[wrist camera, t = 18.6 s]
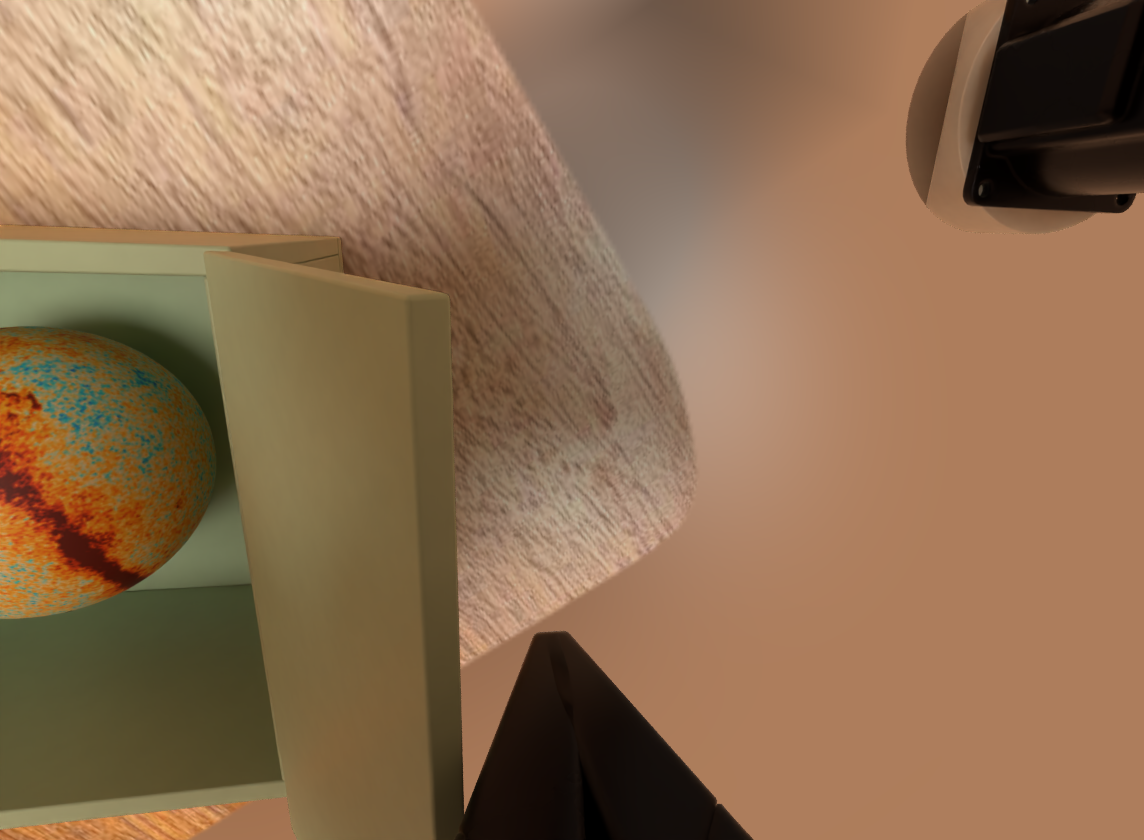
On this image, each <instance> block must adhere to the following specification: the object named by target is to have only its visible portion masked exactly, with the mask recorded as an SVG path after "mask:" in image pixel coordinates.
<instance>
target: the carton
mask: <svg viewBox="0 0 1144 840" xmlns="http://www.w3.org/2000/svg"><path fill="white" fill-rule="evenodd" d="M205 251H230V252H236V253H241V254H246V255H251V256H256V257H261V258H267V259H272V260H277V261H282V262H287V263H292V264H298V265H303V266H308V267H313V268H318V269H323V270H329V271H334V272H339V273H344V271H343V259H342V247H341V238H340V237H334V236H306V235H278V234H250V233H222V232H194V231H167V230H139V229H111V228H83V227H55V226H27V225H0V328H3V327H16V326H43V327H56V328H65V329H71V330H77V331H82V332H86V333H91V334H95V335H98V336H102V337H105V338H108V339H111V340H114V341H117V342H119V343H122V344H124V345H126V346H129V347H131V348H133V349H135V350H137V351H139V352H141V353H143V354H144V355H146V356H148V357H150V358H151V359H153V360H154V361H156V362H157V363H159V364H160V365H162V366H163V367H164V368H166V369H167V370H168V371H169V372H171V373H172V374H173V375H174V376H175V377H176V378H177V379H178V380H179V381H180V382H181V383H182V384H183V385H184V386H185V387H186V388H187V389H188V390H189V392H190V393H191V394H192V395H193V397H194V398H195V400H196V401H197V402H198V404H199V406H200V407H201V409H202V411H203V413H204V415H205V417H206V419H207V421H208V423H209V426H210V429H211V432H212V435H213V439H214V444H215V450H216V477H215V484H214V489H213V493H212V496H211V499H210V502H209V505H208V507H207V510H206V512H205V514H204V516H203V518H202V520H201V522H200V523H199V525H198V527H197V528H196V530H195V531H194V533H193V534H192V536H191V537H190V538H189V540H188V541H187V542H186V543H185V544H184V546H183V547H182V548H181V549H180V550H179V551H178V552H177V553H176V554H175V555H174V556H173V557H172V558H171V559H170V560H169V561H168V562H167V563H166V564H164V565H163V566H162V567H161V568H159V569H158V570H157V571H156V572H154V573H153V574H152V575H150V576H149V577H147V578H146V579H144V580H143V581H141V582H139V583H138V584H136V585H134V586H133V587H131V588H129V589H127V590H125V591H123V592H121V593H119V594H117V595H115V596H113V597H110V598H108V599H106V600H103V601H101V602H98V603H95V604H92V605H89V606H86V607H83V608H80V609H76V610H72V611H71V612H64V613H59V614H54V615H48V616H41V617H32V618H18V619H0V830H1V829H9V828H18V827H27V826H36V825H44V824H53V823H62V822H71V821H80V820H88V819H97V818H106V817H115V816H123V815H132V814H141V813H150V812H158V811H167V810H176V809H185V808H194V807H202V806H211V805H220V804H229V803H237V802H246V801H255V800H263V799H272V798H281V797H287V794H286V787H285V781H284V774H283V768H282V761H281V755H280V748H279V742H278V735H277V729H276V722H275V716H274V709H273V703H272V697H271V690H270V684H269V677H268V671H267V664H266V658H265V651H264V645H263V638H262V632H261V625H260V619H259V612H258V606H257V599H256V593H255V587H254V580H253V574H252V567H251V561H250V554H249V548H248V541H247V535H246V528H245V522H244V515H243V509H242V502H241V496H240V489H239V483H238V476H237V470H236V464H235V457H234V451H233V444H232V438H231V431H230V425H229V418H228V412H227V405H226V399H225V392H224V386H223V379H222V373H221V366H220V360H219V354H218V347H217V341H216V334H215V328H214V321H213V315H212V308H211V302H210V295H209V289H208V282H207V276H206V269H205V263H204V256H203V254H204V252H205Z"/></svg>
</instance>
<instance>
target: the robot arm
mask: <svg viewBox="0 0 1144 840" xmlns="http://www.w3.org/2000/svg"><path fill="white" fill-rule="evenodd" d="M981 185H982V187H983V191H982V193H981V195H979V188H980V186H981ZM1136 193H1144V0H1029V1H1028V3H1027V2H1026V0H1007V2H1006V6H1005V11H1004V15H1003V19H1002V24H1001V28H1000V32H999V37H998V41H997V45H996V50H995V54H994V58H993V62H992V67H991V71H990V75H989V80H988V84H987V88H986V93H985V97H984V101H983V106H982V110H981V114H980V119H979V123H978V127H977V131H976V136H975V140H974V144H973V149H972V153H971V157H970V162H969V166H968V170H967V175H966V179H965V183H964V188H963V199H964V202H965V203H966V204H967V205H970V206H977V207H996V208H1014V209H1033V210H1052V211H1071V212H1090V213H1122V212H1124V211H1126V210H1127V209H1128V208H1129V207H1130V206H1131V205H1132V203H1133V200H1134V199H1135V196H1136ZM1116 198H1117V200H1116ZM454 840H753V839H752V837H751V836H750V835H749V834H748V833H747V832H746V831H745V830H744V829H743V828H742V827H741V826H740V824H738V822H737V821H736V820H735V819H734V818H733V817H732V816H731V815H730V813H729V812H728V811H727V810H726V809H725V808H724V806H723V805H722V804H717V800H716V798H715V797H714V796H713V795H712V793H711V792H710V791H709V790H708V789H707V788H706V787H705V786H704V784H703V783H702V782H701V781H700V780H699V779H698V778H697V776H696V775H695V774H694V773H693V772H692V771H691V770H690V769H689V767H688V766H687V765H686V764H685V763H684V762H683V761H682V760H681V758H680V757H679V756H678V755H677V754H676V753H675V752H674V751H673V750H672V748H671V747H670V746H669V745H668V744H667V743H666V742H665V741H664V739H663V738H662V737H661V736H660V735H659V734H658V733H657V731H655V729H654V728H653V727H652V726H651V725H650V724H649V723H648V722H647V720H646V719H645V718H644V717H643V716H642V715H641V713H640V712H639V711H638V710H637V709H636V708H635V707H634V706H633V704H632V703H631V702H630V701H629V700H628V699H627V698H626V697H625V695H624V694H623V693H622V692H621V691H620V690H619V689H618V688H617V687H616V685H615V684H614V683H613V682H612V681H611V680H610V679H609V678H608V677H607V675H606V674H605V673H604V672H603V671H602V670H601V669H600V668H599V666H598V665H597V664H596V663H595V662H594V661H593V660H592V659H591V657H590V656H589V655H588V654H587V653H586V652H585V651H584V650H583V648H582V647H581V646H580V645H579V644H578V643H577V642H576V640H575V639H574V638H573V637H572V636H571V635H570V634H569V633H568V632H566V631H554V632H539V633H536V634H535V635H534V636H533V639H532V641H531V644H530V646H529V649H528V652H527V654H526V657H525V659H524V662H523V664H522V667H521V670H520V672H519V675H518V677H517V680H516V683H515V685H514V688H513V690H512V693H511V696H510V698H509V701H508V703H507V706H506V708H505V711H504V713H503V716H502V719H501V721H500V724H499V727H498V729H497V731H496V734H495V737H494V739H493V742H492V745H491V747H490V749H489V752H488V755H487V757H486V760H485V762H484V765H483V768H482V770H481V773H480V775H479V778H478V780H477V783H476V786H475V789H474V791H473V793H472V796H471V798H470V801H469V804H468V806H467V809H466V812H465V814H464V816H463V819H462V822H461V824H460V827H459V833H458V834H457V835H456V836H455V839H454Z"/></svg>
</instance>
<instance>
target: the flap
mask: <svg viewBox="0 0 1144 840" xmlns="http://www.w3.org/2000/svg"><path fill="white" fill-rule="evenodd" d="M203 256H204V263H205V269H206V276H207V282H208V289H209V295H210V302H211V308H212V315H213V321H214V328H215V334H216V341H217V347H218V354H219V360H220V366H221V373H222V379H223V386H224V392H225V399H226V405H227V412H228V418H229V425H230V431H231V438H232V444H233V451H234V457H235V464H236V470H237V476H238V483H239V489H240V496H241V502H242V509H243V515H244V522H245V528H246V535H247V541H248V548H249V554H250V561H251V567H252V574H253V580H254V587H255V593H256V599H257V606H258V612H259V619H260V625H261V632H262V638H263V645H264V651H265V658H266V664H267V671H268V677H269V684H270V690H271V697H272V703H273V709H274V716H275V722H276V729H277V735H278V742H279V748H280V755H281V761H282V768H283V774H284V781H285V787H286V794H287V800H288V806H289V813H290V819H291V826H292V830H293V831H294V834H295V836H296V838H297V840H454V839H455V836H456V835H457V834H458V833H459V827H460V824H461V822H462V819H463V816H464V795H463V757H462V720H461V688H460V687H461V683H460V646H459V609H458V572H457V535H456V498H455V461H454V424H453V386H452V349H451V312H450V297H449V295H448V294H445V293H442V292H437V291H432V290H427V289H422V288H416V287H411V286H406V285H401V284H396V283H391V282H385V281H380V280H375V279H370V278H365V277H360V276H354V275H349V274H344V273H339V272H334V271H329V270H323V269H318V268H313V267H308V266H303V265H298V264H292V263H287V262H282V261H277V260H272V259H267V258H261V257H256V256H251V255H246V254H241V253H236V252H230V251H205V252H204V254H203Z"/></svg>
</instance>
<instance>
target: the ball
mask: <svg viewBox="0 0 1144 840" xmlns="http://www.w3.org/2000/svg"><path fill="white" fill-rule="evenodd" d="M215 477H216V450H215V444H214V439H213V435H212V432H211V429H210V426H209V423H208V421H207V419H206V417H205V415H204V413H203V411H202V409H201V407H200V406H199V404H198V402H197V401H196V400H195V398H194V397H193V395H192V394H191V393H190V392H189V390H188V389H187V388H186V387H185V386H184V385H183V384H182V383H181V382H180V381H179V380H178V379H177V378H176V377H175V376H174V375H173V374H172V373H171V372H169V371H168V370H167V369H166V368H164V367H163V366H162V365H160V364H159V363H157V362H156V361H154V360H153V359H151V358H150V357H148V356H146V355H144V354H143V353H141V352H139V351H137V350H135V349H133V348H131V347H129V346H126V345H124V344H122V343H119V342H117V341H114V340H111V339H108V338H105V337H102V336H98V335H95V334H91V333H86V332H82V331H77V330H71V329H65V328H56V327H43V326H16V327H3V328H0V619H18V618H32V617H41V616H48V615H54V614H59V613H64V612H71V611H72V610H76V609H80V608H83V607H86V606H89V605H92V604H95V603H98V602H101V601H103V600H106V599H108V598H110V597H113V596H115V595H117V594H119V593H121V592H123V591H125V590H127V589H129V588H131V587H133V586H134V585H136V584H138V583H139V582H141V581H143V580H144V579H146V578H147V577H149V576H150V575H152V574H153V573H154V572H156V571H157V570H158V569H159V568H161V567H162V566H163V565H164V564H166V563H167V562H168V561H169V560H170V559H171V558H172V557H173V556H174V555H175V554H176V553H177V552H178V551H179V550H180V549H181V548H182V547H183V546H184V544H185V543H186V542H187V541H188V540H189V538H190V537H191V536H192V534H193V533H194V531H195V530H196V528H197V527H198V525H199V523H200V522H201V520H202V518H203V516H204V514H205V512H206V510H207V507H208V505H209V502H210V499H211V496H212V493H213V489H214V484H215Z"/></svg>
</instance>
